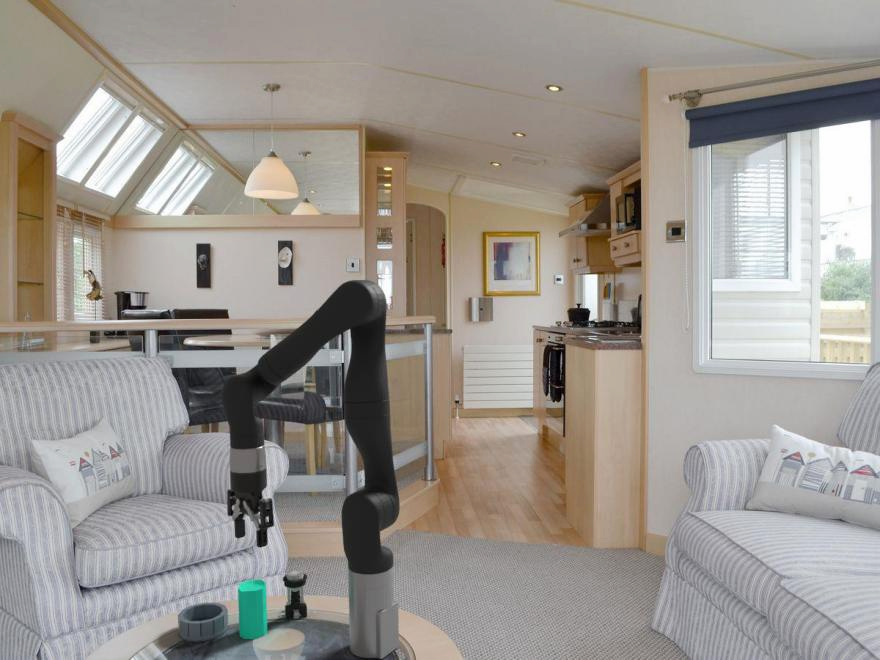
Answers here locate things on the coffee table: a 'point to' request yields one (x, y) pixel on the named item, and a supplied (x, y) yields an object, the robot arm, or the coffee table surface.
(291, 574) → the push button
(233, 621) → the coffee table surface
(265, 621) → the candle
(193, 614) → the candle dish
